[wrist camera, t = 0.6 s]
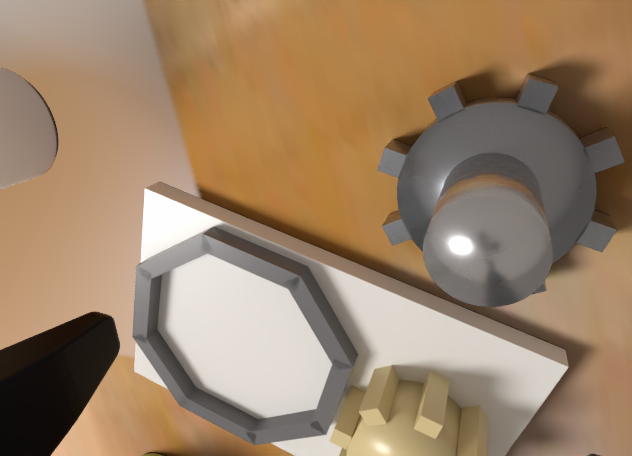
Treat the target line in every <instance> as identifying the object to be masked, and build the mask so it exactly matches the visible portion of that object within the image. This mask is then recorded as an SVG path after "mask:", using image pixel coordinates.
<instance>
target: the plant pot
mask: <svg viewBox="0 0 632 456" xmlns="http://www.w3.org/2000/svg"><path fill="white" fill-rule="evenodd" d="M143 456H163V455H160V454H155V453H149V454H145V455H143Z"/></svg>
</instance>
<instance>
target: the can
mask: <svg viewBox="0 0 632 456" xmlns="http://www.w3.org/2000/svg"><path fill="white" fill-rule="evenodd" d="M57 150H58V133H57V128H56V124H55V121H54V118H53V115H52V113H51V111H50V109H49V107H48V105H47V103H46V102H45V100H44V99H43V97H42V96H41V95H40V93H39V92H38V91H37V90H36V89H35V88H34V87H33V86H32V85H31V84H30V83H29V82H27V81H26V80H25V79H23V78H22V77H20V76H19V75H17V74H16V73H14V72H12V71H9V70H7V69H3V68H0V190H1V189H4V188H6V187H10V186H12V185H15V184H18V183H21V182H24V181H27V180H30V179H32V178H35V177H38V176H40V175H42V174H44V173H46V172H47V171H48V170H49V169H50V167H51V166H52V164H53V162H54V159H55V157H56V154H57Z"/></svg>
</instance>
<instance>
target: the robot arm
mask: <svg viewBox="0 0 632 456" xmlns="http://www.w3.org/2000/svg"><path fill="white" fill-rule="evenodd" d="M119 349H120V341H119V338H118V334H117V329H116V326H115V321H114V319H113V318H112V317H111V316H110V315H107V314H103V313H100V312H90V313H87V314H85V315H83V316H80V317H78V318H76V319H73V320H71V321H68V322H66V323H64V324H61V325H59V326H56V327H54V328H52V329H49V330H47V331H45V332H42V333H40V334H38V335H35V336H33V337H30V338H28V339H25V340H23V341H21V342H18V343H16V344H14V345H11V346H9V347H6V348H4V349H2V350H0V456H51V454H52V453H53V452H54V450H55V449H56V448H57V446H58V445H59V444H60V442H61V441H62V440H63V438H64V437H65V436H66V434H67V433H68V432H69V430H70V429H71V428H72V426H73V425H74V423H75V422H76V421H77V419H78V418H79V416H80V414H81V413H82V411H83V410H84V408H85V407H86V405H87V404H88V402H89V400H90V399H91V397H92V395H93V394H94V392H95V391H96V389H97V387H98V386H99V384H100V383H101V381H102V379H103V378H104V376H105V374H106V373H107V371H108V370H109V368H110V366H111V365H112V363H113V362H114V360H115V358H116V357H117V355H118V352H119ZM587 456H600V455H596V454H589V455H587Z"/></svg>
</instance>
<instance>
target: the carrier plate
mask: <svg viewBox="0 0 632 456" xmlns="http://www.w3.org/2000/svg"><path fill="white" fill-rule="evenodd" d="M144 198H145V199H144V214H143V231H142V248H141V263H140V264H139V265H137V266H136V282H135V300H134V319H133V338H134V340H135V341H136V349H135V366H134V372H136V373H138V374H140V375H142V376H144V377H146V378H148V379H150V380H152V381H153V382H155V383H157V384H159V385H161V386H163V387H165V388H167V389H169V391H170V392H171V394H172V395H173V397H174V398H175V400H176V401H177V403H178V404H179V405H180V406H181V407H183V408H185V409H187V410H189V411H191V412H193V413H194V414H196V415H198V416H200V417H202V418H204V419H206V420H208V421H210V422H211V423H213V424H215V425H217V426H219V427H221V428H223V429H225V430H227V431H228V432H230V433H232V434H234V435H236V436H238V437H240V438H242V439H244V440H245V441H247V442H249V443H251V444H253V445H259V444H266V443H272V444H274V445H276V446H277V447H279V448H281V449H283V450H285V451H287V452H289V453H291V454H293V455H295V456H505V455H506V454H507V452H508V451H509V449H510V448H511V447H512V445H513V444H514V442H515V441H516V440H517V438H518V437H519V436H520V434H521V433H522V431H523V430H524V429H525V427H526V426H527V424H528V423H529V422H530V420H531V419H532V417H533V416H534V415H535V413H536V412H537V410H538V409H539V408H540V406H541V405H542V403H543V402H544V401H545V399H546V398H547V396H548V395H549V394H550V392H551V391H552V390H553V388H554V387H555V385H556V384H557V383H558V381H559V380H560V378H561V377H562V376H563V374H564V373H565V371H566V370H567V369H568V367H569V366H568V361H567V356H566V350H564V349H562V348H560V347H557V346H555V345H552V344H550V343H548V342H545V341H543V340H540V339H538V338H536V337H533V336H531V335H528V334H526V333H524V332H521V331H519V330H516V329H514V328H511V327H509V326H507V325H504V324H502V323H499V322H497V321H495V320H492V319H490V318H487V317H485V316H483V315H480V314H478V313H475V312H473V311H470V310H468V309H466V308H463V307H461V306H458V305H456V304H454V303H451V302H449V301H446V300H444V299H442V298H439V297H437V296H434V295H432V294H429V293H427V292H425V291H422V290H420V289H417V288H415V287H413V286H410V285H408V284H405V283H403V282H401V281H398V280H396V279H393V278H391V277H388V276H386V275H384V274H381V273H379V272H376V271H374V270H372V269H369V268H367V267H364V266H362V265H360V264H357V263H355V262H352V261H350V260H348V259H345V258H343V257H340V256H338V255H335V254H333V253H331V252H328V251H326V250H323V249H321V248H319V247H316V246H314V245H311V244H309V243H307V242H304V241H302V240H299V239H297V238H294V237H292V236H290V235H287V234H285V233H282V232H280V231H278V230H275V229H273V228H270V227H268V226H266V225H263V224H261V223H258V222H256V221H253V220H251V219H249V218H246V217H244V216H241V215H239V214H237V213H234V212H232V211H229V210H227V209H225V208H222V207H220V206H217V205H215V204H212V203H210V202H208V201H205V200H203V199H200V198H198V197H195V196H193V195H191V194H188V193H186V192H183V191H181V190H179V189H176V188H174V187H171V186H169V185H166V184H164V183H162V182H158V183H155V184H153V185H151V186H149V187H147V188H145V197H144Z"/></svg>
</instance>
